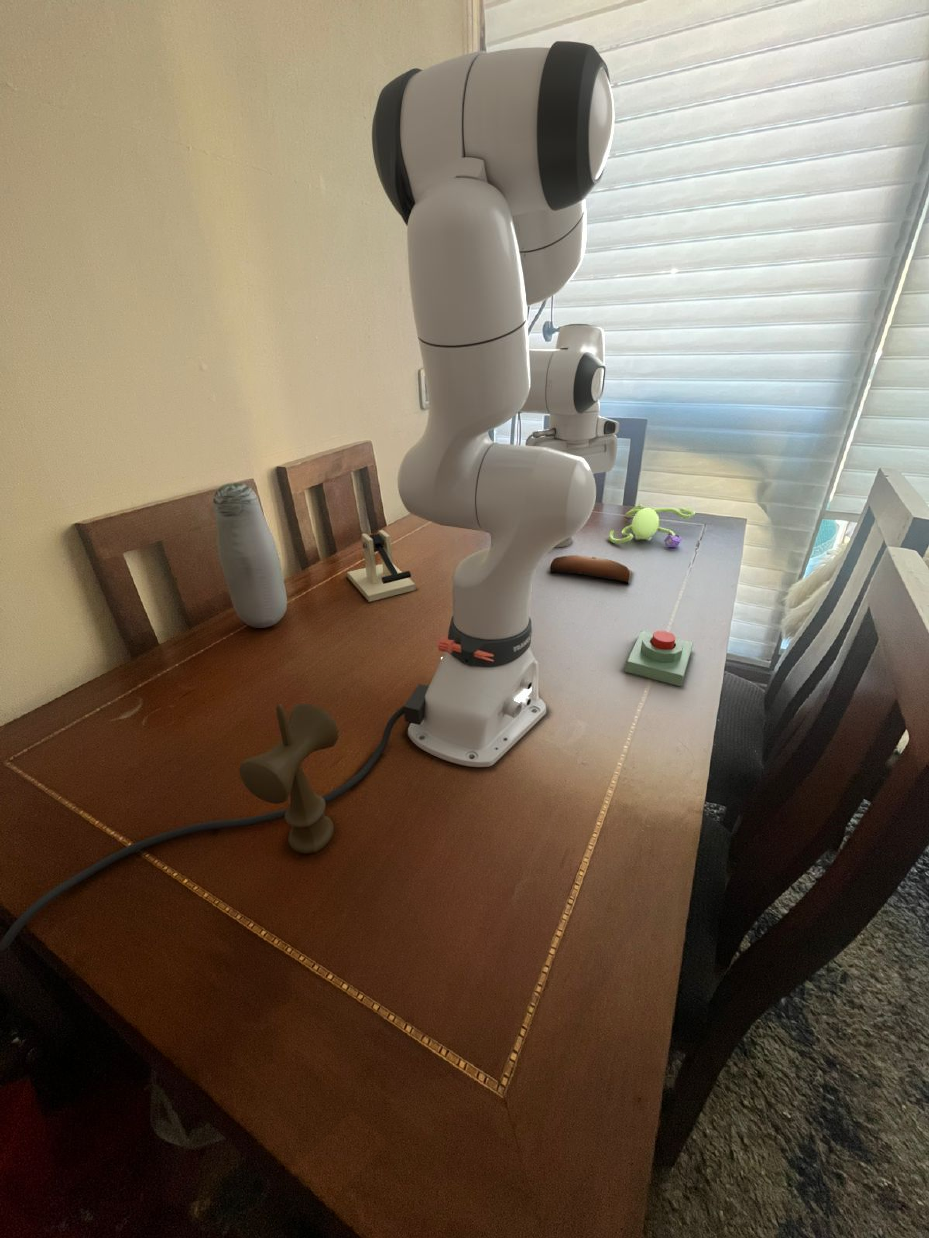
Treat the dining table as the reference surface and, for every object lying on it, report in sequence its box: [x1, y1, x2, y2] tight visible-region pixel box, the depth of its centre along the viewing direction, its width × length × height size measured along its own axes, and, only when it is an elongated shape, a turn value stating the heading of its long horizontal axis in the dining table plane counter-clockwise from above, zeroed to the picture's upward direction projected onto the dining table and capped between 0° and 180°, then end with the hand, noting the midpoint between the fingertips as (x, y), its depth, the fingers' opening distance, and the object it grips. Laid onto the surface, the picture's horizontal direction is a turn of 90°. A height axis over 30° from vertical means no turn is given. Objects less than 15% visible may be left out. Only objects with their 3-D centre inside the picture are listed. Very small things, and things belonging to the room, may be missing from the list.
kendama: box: [238, 702, 339, 855], centre depth 55 cm, size 6×10×20 cm, turn 160°
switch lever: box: [369, 533, 412, 584], centre depth 110 cm, size 13×6×2 cm, turn 29°
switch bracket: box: [347, 529, 416, 603], centre depth 115 cm, size 14×11×12 cm
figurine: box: [608, 504, 696, 548], centre depth 141 cm, size 18×27×6 cm
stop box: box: [624, 630, 694, 687], centre depth 89 cm, size 11×9×4 cm
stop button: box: [651, 630, 677, 650], centre depth 87 cm, size 4×4×2 cm
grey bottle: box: [212, 482, 288, 629], centre depth 96 cm, size 10×10×28 cm
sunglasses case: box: [549, 554, 632, 585], centre depth 120 cm, size 18×7×7 cm, turn 68°
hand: (566, 499), depth 101 cm, fingers open, 3 cm apart
